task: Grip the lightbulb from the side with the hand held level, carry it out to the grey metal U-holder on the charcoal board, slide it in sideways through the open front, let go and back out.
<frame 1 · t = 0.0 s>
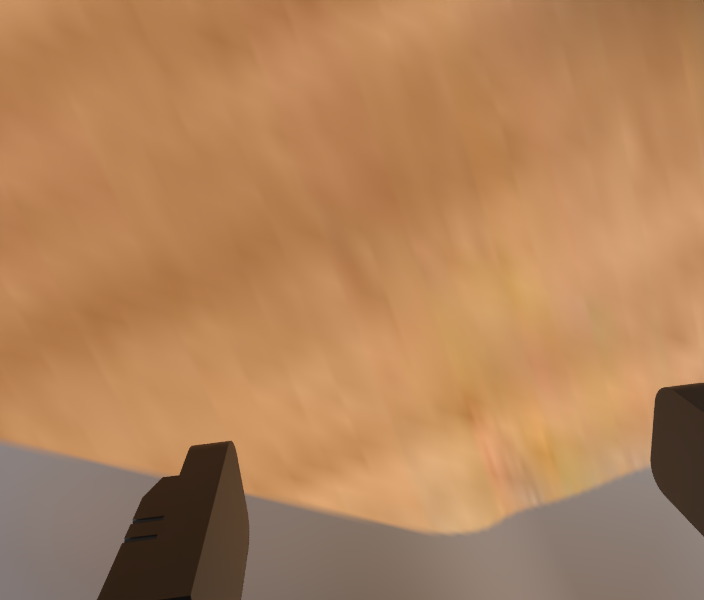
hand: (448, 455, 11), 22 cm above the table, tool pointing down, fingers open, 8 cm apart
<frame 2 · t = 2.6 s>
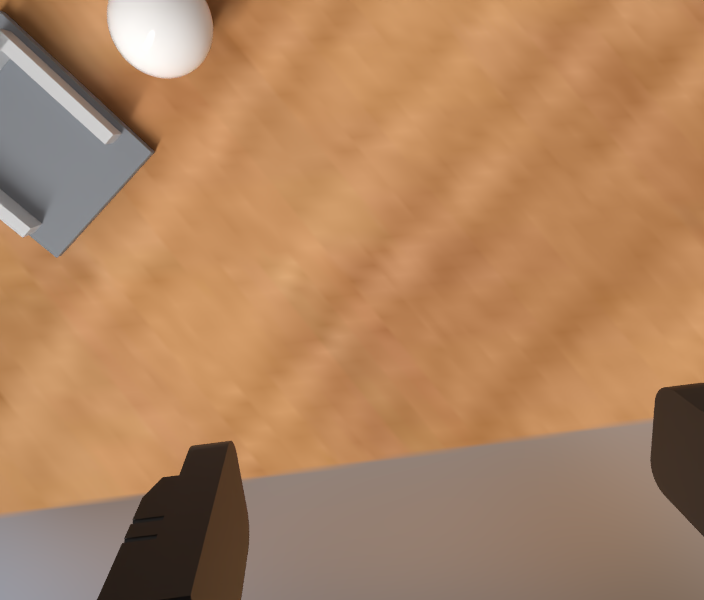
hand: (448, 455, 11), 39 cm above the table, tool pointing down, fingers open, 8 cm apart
lightbulb: (187, 40, 43), on the table
u holder: (35, 141, 44), on the table
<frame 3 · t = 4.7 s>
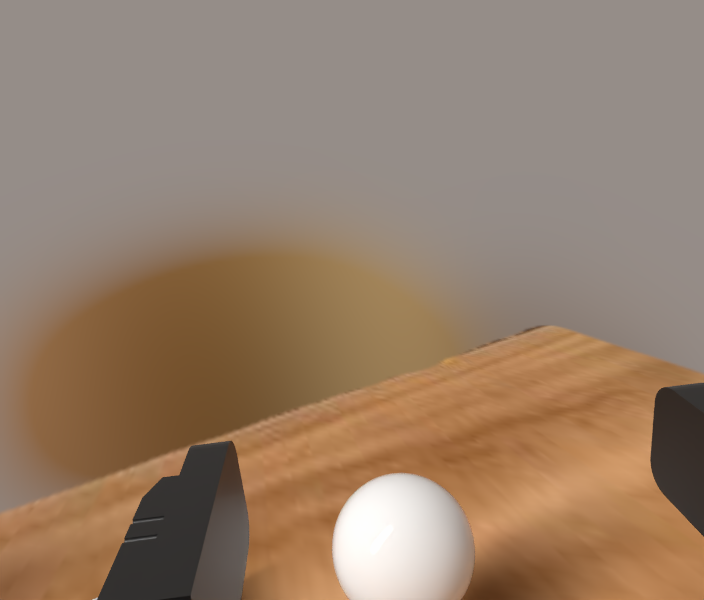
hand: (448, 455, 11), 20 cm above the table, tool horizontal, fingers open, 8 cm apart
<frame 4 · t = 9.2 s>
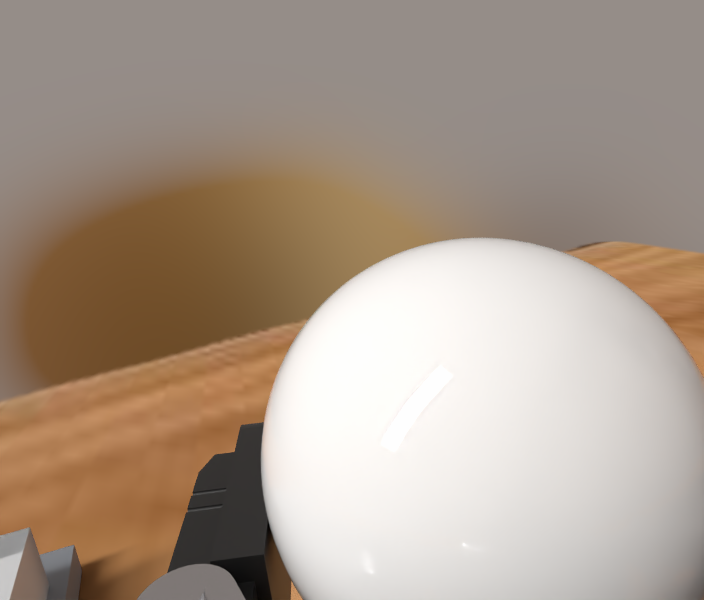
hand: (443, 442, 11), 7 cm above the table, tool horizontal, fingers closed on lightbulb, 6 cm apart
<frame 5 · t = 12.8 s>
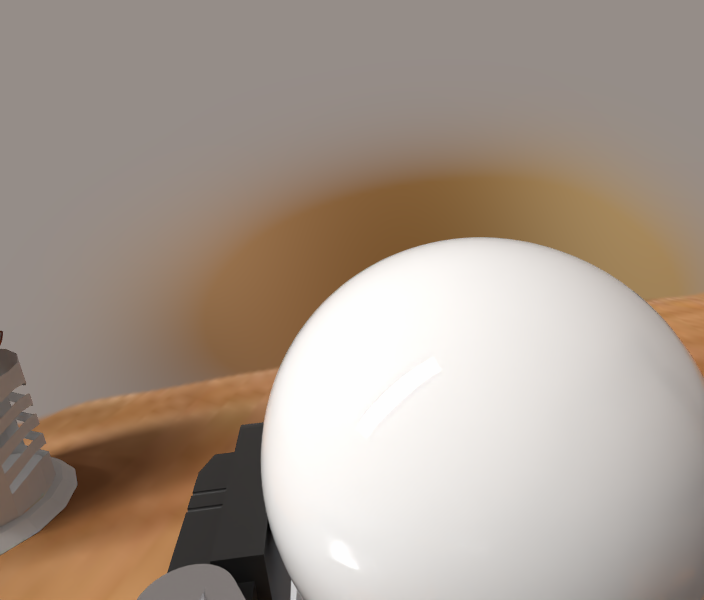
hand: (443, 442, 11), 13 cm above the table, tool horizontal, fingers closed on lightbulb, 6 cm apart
when the fingers open (8 cm above the table, at t = 16.8 s): lightbulb stays where it is, resting on u holder.
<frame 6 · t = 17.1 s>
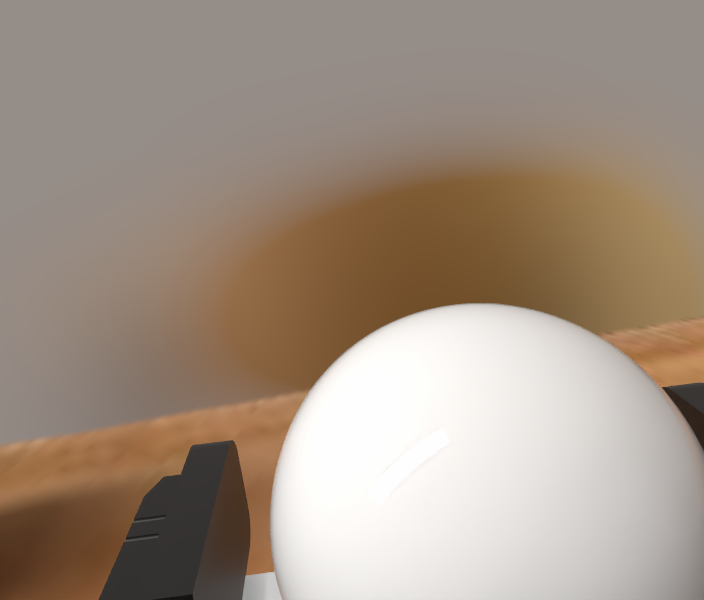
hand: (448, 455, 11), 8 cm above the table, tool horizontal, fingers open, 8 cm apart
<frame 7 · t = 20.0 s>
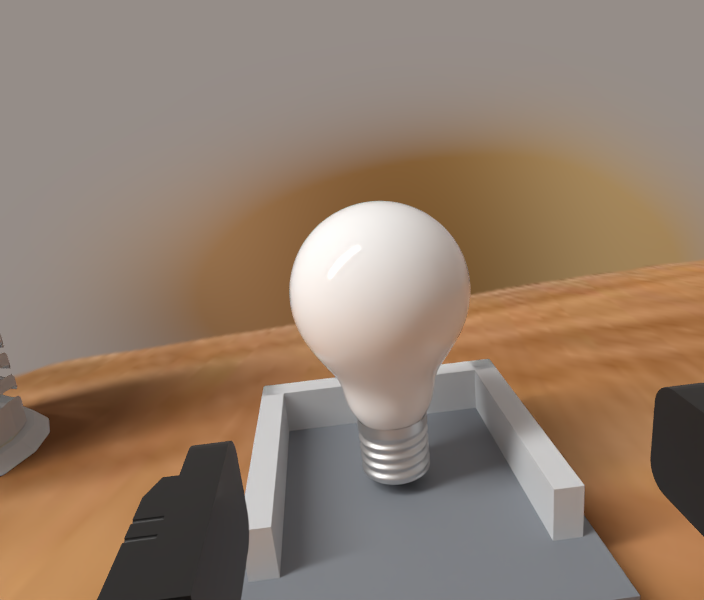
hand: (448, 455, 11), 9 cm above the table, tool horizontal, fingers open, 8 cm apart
lightbulb: (398, 481, 22), point 1 cm above the table, touching u holder
u holder: (399, 496, 23), on the table
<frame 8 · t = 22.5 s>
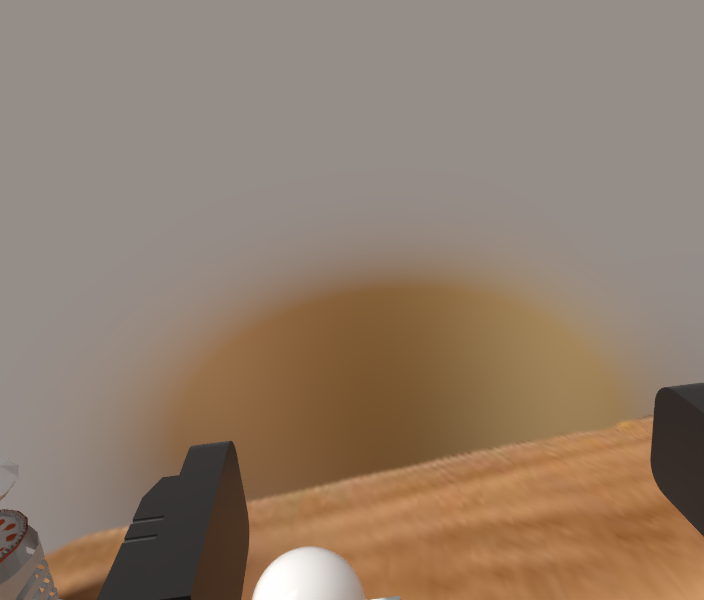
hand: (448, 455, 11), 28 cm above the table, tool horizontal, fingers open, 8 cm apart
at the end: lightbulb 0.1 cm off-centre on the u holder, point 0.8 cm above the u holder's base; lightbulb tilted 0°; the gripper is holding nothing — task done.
